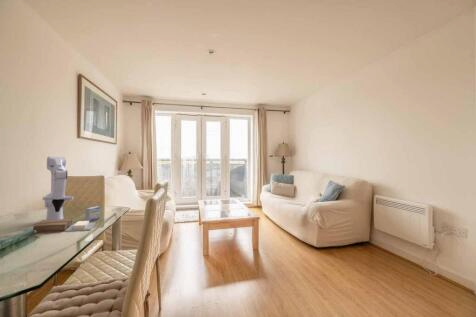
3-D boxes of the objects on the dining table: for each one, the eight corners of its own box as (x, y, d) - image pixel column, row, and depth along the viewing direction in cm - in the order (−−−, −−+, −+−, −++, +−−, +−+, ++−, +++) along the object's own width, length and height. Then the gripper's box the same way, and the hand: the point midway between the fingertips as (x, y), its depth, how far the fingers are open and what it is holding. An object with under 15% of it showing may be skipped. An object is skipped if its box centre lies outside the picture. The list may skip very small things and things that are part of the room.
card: (89, 220, 132) (89, 223, 132) (78, 221, 130) (77, 224, 130) (85, 225, 124) (85, 228, 124) (73, 225, 122) (73, 229, 122)
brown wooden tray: (43, 226, 124) (43, 220, 124) (71, 224, 130) (71, 218, 130) (33, 233, 113) (33, 226, 113) (64, 231, 119) (65, 224, 119)
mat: (72, 224, 131) (73, 223, 131) (96, 223, 136) (96, 222, 136) (64, 231, 118) (64, 230, 118) (90, 230, 123) (90, 229, 123)
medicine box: (89, 221, 138) (90, 209, 138) (84, 220, 139) (85, 208, 139) (99, 218, 146) (100, 206, 146) (94, 217, 147) (95, 205, 147)
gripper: (40, 190, 119) (39, 213, 119) (71, 190, 125) (69, 212, 125) (46, 188, 125) (44, 210, 125) (75, 189, 131) (73, 209, 131)
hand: (57, 211), depth 125 cm, fingers closed
